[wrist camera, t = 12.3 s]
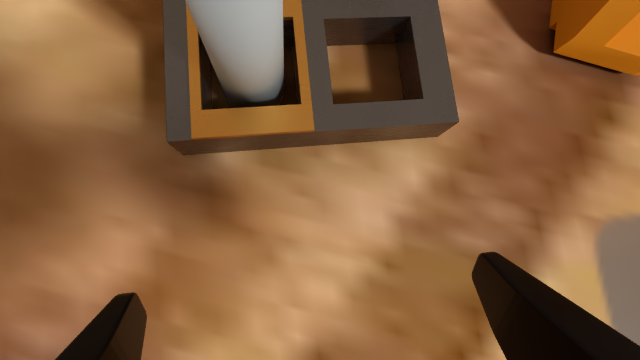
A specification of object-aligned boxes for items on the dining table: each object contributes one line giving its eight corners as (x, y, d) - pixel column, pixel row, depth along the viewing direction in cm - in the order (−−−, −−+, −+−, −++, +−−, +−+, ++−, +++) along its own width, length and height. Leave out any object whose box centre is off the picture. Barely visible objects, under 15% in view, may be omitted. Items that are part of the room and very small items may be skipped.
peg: (292, 105, 23) (299, -48, 11) (235, 123, 22) (173, -17, 10) (272, 53, 24) (257, -149, 11) (216, 70, 23) (136, -125, 11)
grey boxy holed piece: (437, 136, 24) (461, 120, 20) (183, 155, 22) (164, 140, 18) (418, 22, 25) (438, -11, 22) (178, 29, 23) (161, -5, 20)
